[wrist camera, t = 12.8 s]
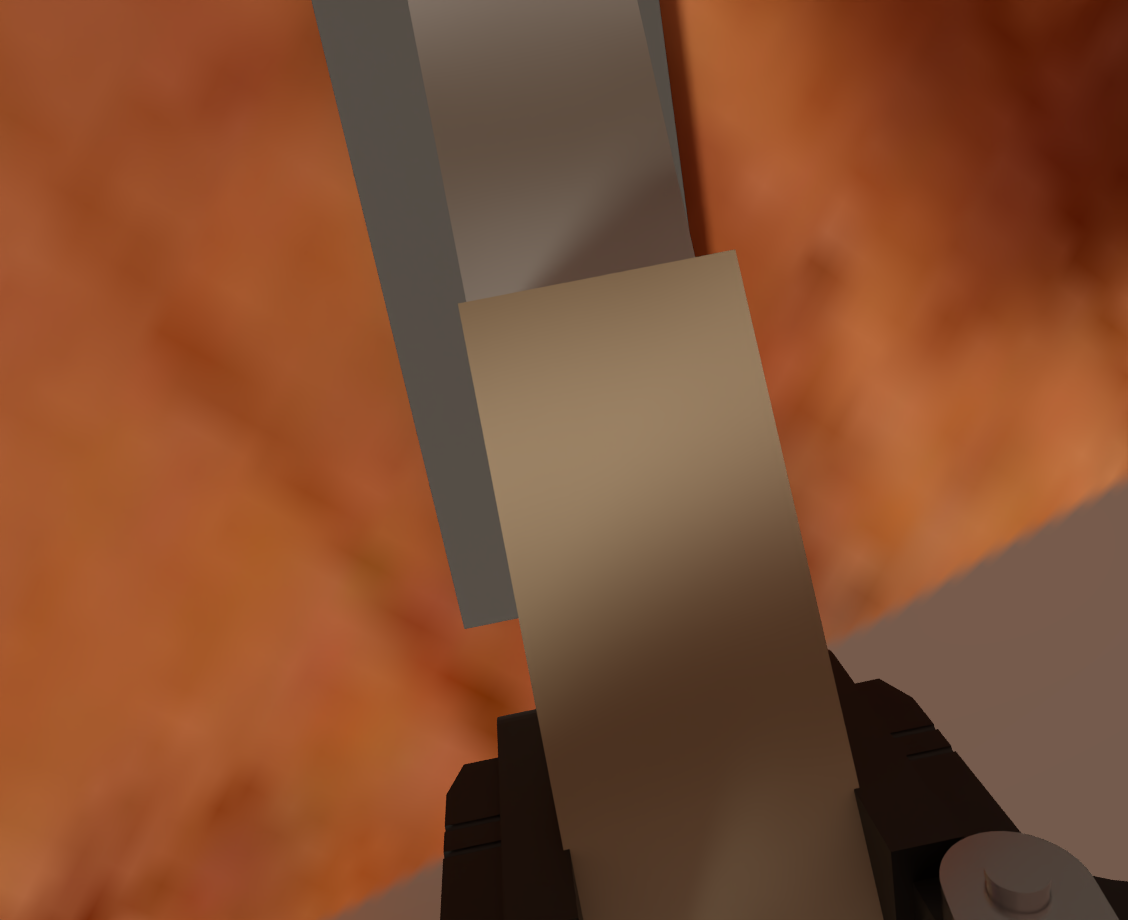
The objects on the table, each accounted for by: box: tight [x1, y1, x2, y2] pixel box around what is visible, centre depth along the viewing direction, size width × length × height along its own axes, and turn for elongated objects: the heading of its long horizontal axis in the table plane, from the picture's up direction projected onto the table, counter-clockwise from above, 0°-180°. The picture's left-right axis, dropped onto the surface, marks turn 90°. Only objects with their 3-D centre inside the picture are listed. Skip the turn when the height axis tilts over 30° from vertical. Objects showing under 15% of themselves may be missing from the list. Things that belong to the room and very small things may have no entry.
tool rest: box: [312, 0, 689, 629], centre depth 24 cm, size 8×18×1 cm, turn 10°
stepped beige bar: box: [408, 0, 884, 920], centre depth 12 cm, size 15×3×5 cm, turn 11°
